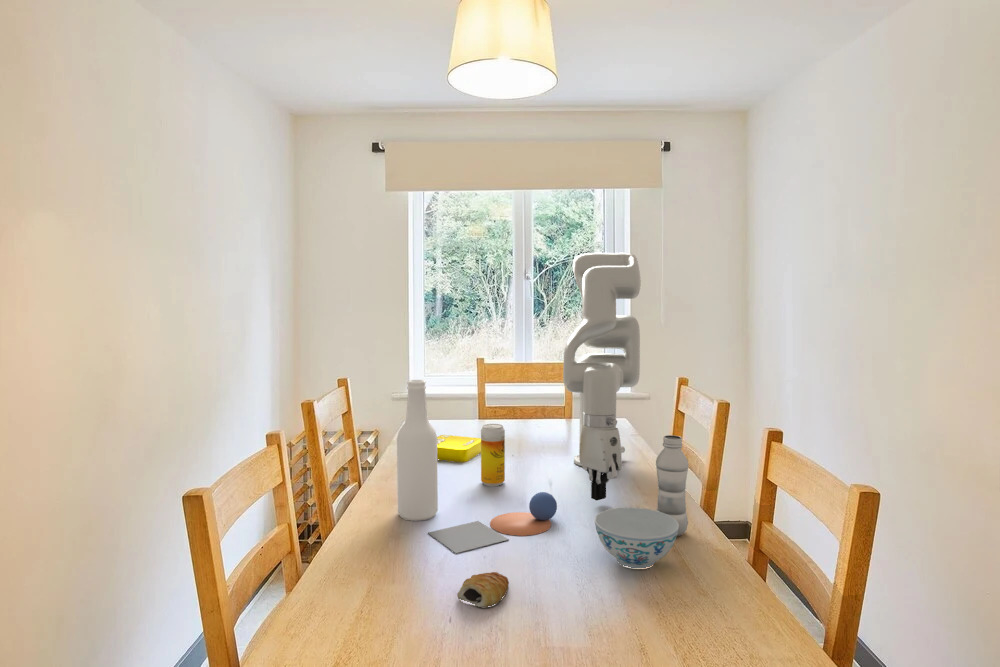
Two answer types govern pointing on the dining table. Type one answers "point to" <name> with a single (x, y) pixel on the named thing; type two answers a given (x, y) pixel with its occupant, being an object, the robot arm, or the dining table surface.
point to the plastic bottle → (672, 481)
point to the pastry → (484, 589)
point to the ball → (543, 506)
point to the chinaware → (636, 535)
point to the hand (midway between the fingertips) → (598, 498)
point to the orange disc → (519, 524)
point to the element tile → (457, 448)
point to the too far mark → (467, 537)
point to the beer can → (492, 454)
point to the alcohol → (417, 459)
